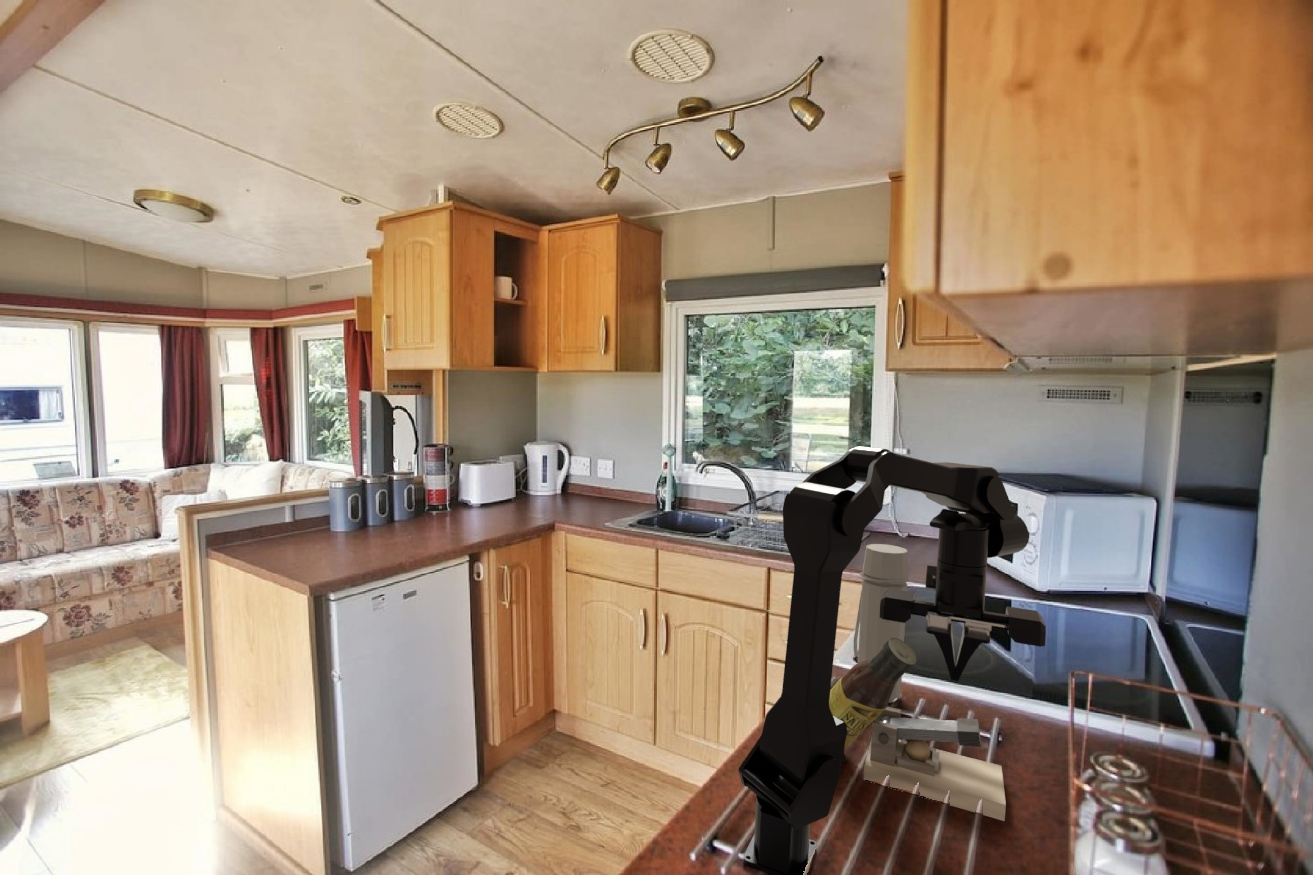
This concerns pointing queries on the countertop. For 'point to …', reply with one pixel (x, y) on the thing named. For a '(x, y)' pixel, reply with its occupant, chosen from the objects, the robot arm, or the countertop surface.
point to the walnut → (917, 750)
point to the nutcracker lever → (937, 730)
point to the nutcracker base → (934, 772)
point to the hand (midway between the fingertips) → (954, 679)
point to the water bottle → (879, 574)
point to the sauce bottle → (869, 687)
